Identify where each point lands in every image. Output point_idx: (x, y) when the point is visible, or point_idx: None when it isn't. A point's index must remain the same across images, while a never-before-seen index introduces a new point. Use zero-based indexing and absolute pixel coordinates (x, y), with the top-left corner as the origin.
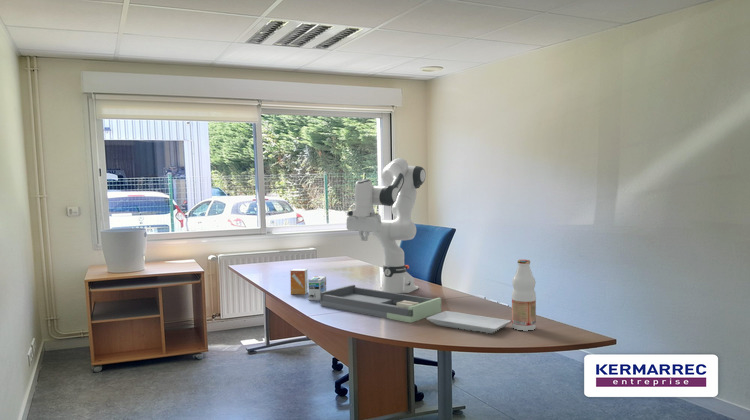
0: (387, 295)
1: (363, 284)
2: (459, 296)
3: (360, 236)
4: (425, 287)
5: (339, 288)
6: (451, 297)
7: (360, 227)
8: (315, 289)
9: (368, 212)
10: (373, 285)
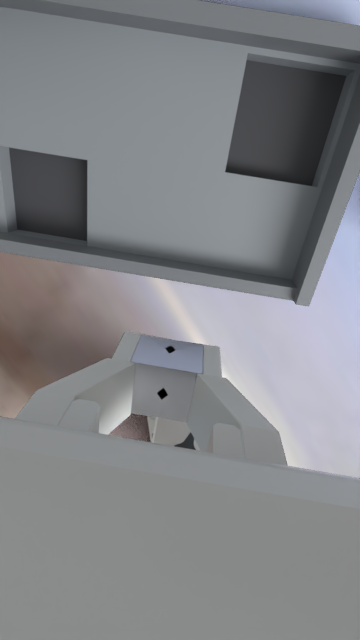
0: (108, 253)
1: (343, 458)
2: (3, 416)
3: (229, 383)
4: None
5: (338, 198)
6: (11, 400)
7: (191, 581)
8: None
9: None
10: (304, 456)
